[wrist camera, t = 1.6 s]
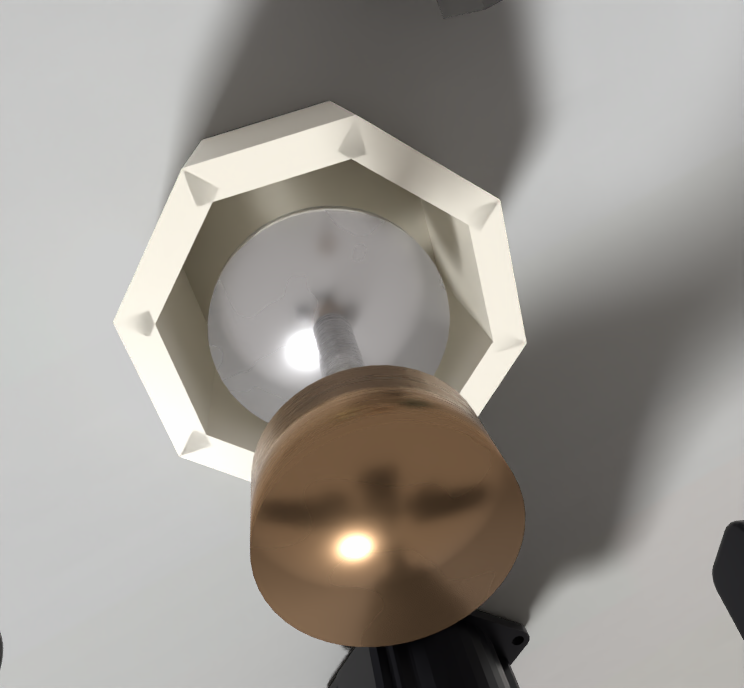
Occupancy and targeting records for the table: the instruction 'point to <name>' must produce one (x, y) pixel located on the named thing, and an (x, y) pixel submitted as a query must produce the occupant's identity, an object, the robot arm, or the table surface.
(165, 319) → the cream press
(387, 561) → the brown and grey doorknob
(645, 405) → the table surface
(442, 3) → the grey octagonal hollow piece
